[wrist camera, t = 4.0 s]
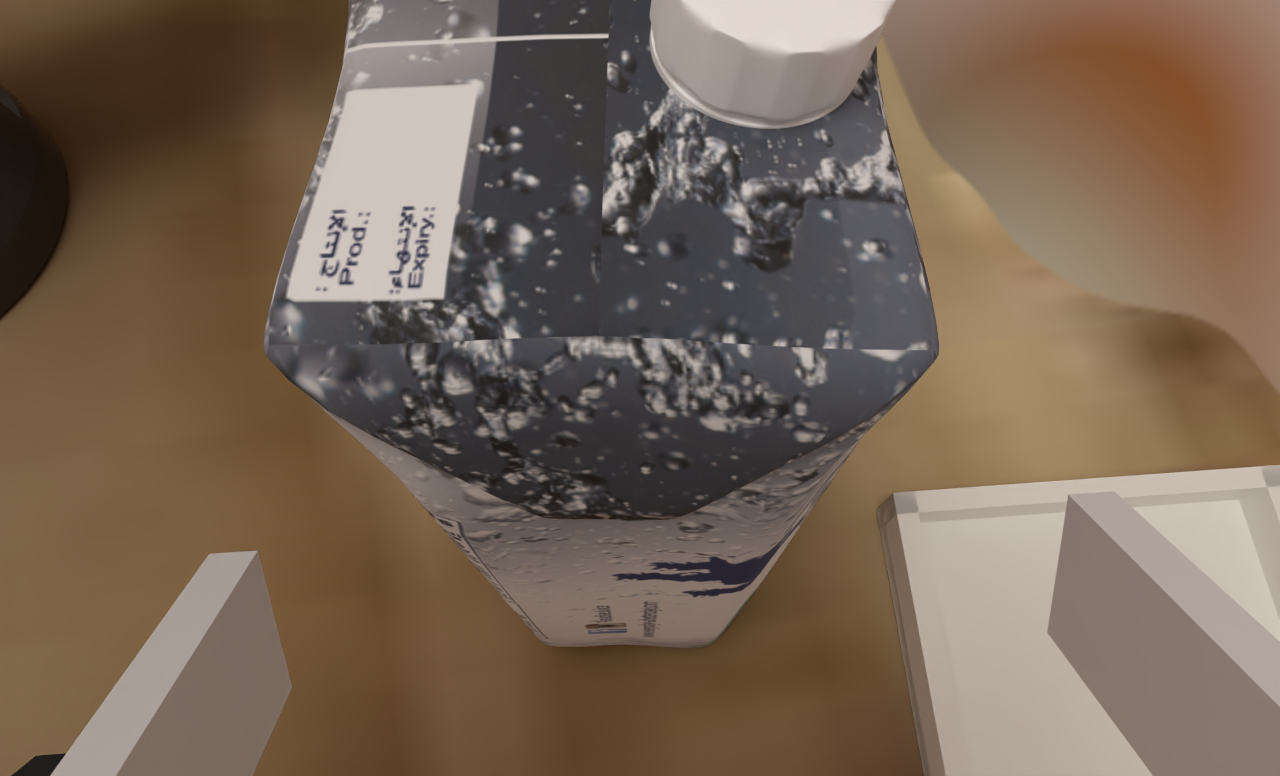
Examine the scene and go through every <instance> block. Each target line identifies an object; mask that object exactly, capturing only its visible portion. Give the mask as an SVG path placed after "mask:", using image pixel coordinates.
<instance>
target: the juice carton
mask: <svg viewBox="0 0 1280 776" xmlns="http://www.w3.org/2000/svg"><path fill="white" fill-rule="evenodd" d="M896 2H897V0H349V10H348V20H347V30H346V39H345V49H344V59H343V67H342V71H341V75H340V79H339V83H338V87H337V91H336V95H335V99H334V103H333V107H332V111H331V115H330V119H329V123H328V126H327V129H326V132H325V135H324V138H323V141H322V144H321V146H320V149H319V152H318V155H317V158H316V161H315V164H314V167H313V170H312V173H311V176H310V179H309V182H308V185H307V188H306V191H305V194H304V197H303V200H302V202H301V205H300V208H299V211H298V214H297V217H296V220H295V223H294V226H293V229H292V232H291V235H290V238H289V242H288V245H287V248H286V251H285V255H284V258H283V261H282V264H281V268H280V271H279V274H278V277H277V281H276V284H275V288H274V292H273V296H272V300H271V304H270V308H269V312H268V316H267V321H266V327H265V333H264V351H265V353H266V356H267V357H268V358H269V359H270V360H271V361H272V362H273V363H274V364H275V365H276V367H277V368H278V369H279V370H280V371H281V372H282V373H283V374H284V375H285V376H286V377H287V378H288V379H289V380H290V381H291V382H292V383H294V384H295V385H296V386H297V387H299V388H300V389H301V390H302V391H304V392H305V393H306V394H307V395H308V396H309V397H310V398H311V399H312V400H313V401H314V402H315V403H317V404H318V405H319V406H320V407H321V408H322V409H323V410H324V411H325V412H326V413H328V414H329V415H330V416H331V417H332V418H333V419H334V420H335V421H337V422H338V423H339V424H340V425H341V426H342V427H343V428H344V429H346V430H347V431H348V432H349V433H350V434H351V435H352V436H353V437H355V438H356V439H357V440H358V441H359V442H360V443H361V444H362V445H364V446H365V447H366V448H367V449H368V450H369V451H370V452H371V453H373V454H374V455H375V456H376V457H377V458H378V459H379V460H380V461H381V462H382V463H383V464H384V465H385V466H387V467H388V468H389V469H390V470H391V471H392V472H393V473H394V474H395V475H396V476H397V477H398V478H399V479H400V481H401V482H402V483H403V484H404V485H405V486H406V487H407V488H408V489H409V490H410V491H411V493H412V494H413V495H414V496H415V497H416V498H417V500H418V501H419V502H420V503H421V504H422V505H423V507H424V508H425V509H426V510H427V511H428V512H429V514H430V515H431V516H432V517H433V518H434V519H435V521H436V522H437V523H438V524H439V525H440V526H441V527H442V529H443V530H444V531H445V532H446V533H447V534H448V535H449V537H450V538H451V539H452V540H453V541H454V542H455V544H456V545H457V546H458V547H459V548H460V549H461V550H462V552H463V553H464V554H465V555H466V556H467V557H468V558H469V560H470V561H471V562H472V563H473V564H474V565H475V566H476V568H477V569H478V570H479V571H480V572H481V573H482V575H483V576H484V577H485V578H486V579H487V580H488V581H489V583H490V584H491V585H492V586H493V587H494V588H495V589H496V591H497V592H498V593H499V594H500V595H501V596H502V597H503V599H504V600H505V601H506V602H507V603H508V604H509V605H510V607H511V608H512V609H513V610H514V611H515V612H516V613H517V615H518V616H519V617H520V618H521V619H522V620H523V621H524V623H525V624H526V625H527V626H528V627H529V628H530V630H531V631H532V632H533V633H534V634H535V635H536V636H537V637H538V639H539V640H540V641H542V642H543V643H545V644H547V645H550V646H559V647H584V646H602V645H627V644H628V645H646V646H658V647H672V648H703V647H707V646H710V645H711V644H713V643H714V642H715V641H716V640H717V639H718V638H719V637H720V636H721V635H722V634H723V633H724V632H725V631H726V629H727V628H728V627H729V626H730V624H731V623H732V622H733V621H734V619H735V618H736V617H737V615H738V614H739V613H740V611H741V610H742V609H743V607H744V606H745V605H746V603H747V602H748V601H749V599H750V598H751V597H752V595H753V594H754V593H755V591H756V590H757V588H758V587H759V586H760V584H761V583H762V581H763V580H764V578H765V577H766V575H767V574H768V573H769V571H770V570H771V568H772V567H773V565H774V564H775V562H776V561H777V560H778V558H779V557H780V555H781V554H782V552H783V551H784V549H785V548H786V547H787V545H788V544H789V542H790V541H791V539H792V538H793V536H794V535H795V533H796V532H797V531H798V529H799V528H800V526H801V525H802V523H803V522H804V520H805V519H806V518H807V516H808V515H809V513H810V512H811V510H812V509H813V507H814V506H815V504H816V503H817V502H818V500H819V499H820V497H821V496H822V494H823V493H824V491H825V490H826V489H827V487H828V486H829V484H830V483H831V481H832V480H833V478H834V477H835V475H836V474H837V473H838V471H839V470H840V468H841V467H842V465H843V464H844V462H845V461H846V460H847V458H848V457H849V455H850V454H851V452H852V451H853V449H854V448H855V446H856V445H857V444H858V442H859V441H860V439H861V438H862V436H863V435H864V434H865V433H866V432H867V431H868V430H869V429H870V428H871V427H872V426H873V425H874V424H876V423H877V422H878V421H879V420H880V419H881V418H882V417H883V416H884V415H885V414H886V413H887V412H888V411H889V410H890V409H891V408H892V407H893V406H894V405H895V404H896V403H897V402H898V401H899V400H900V399H901V398H902V397H903V396H904V395H905V394H906V393H907V392H908V391H909V390H910V389H911V387H912V386H913V385H914V384H915V383H916V382H917V381H918V380H919V378H920V377H921V376H922V375H923V374H924V373H925V372H926V370H927V369H928V368H929V367H930V366H931V365H932V363H933V362H934V361H935V359H936V358H937V356H938V354H939V341H938V333H937V325H936V319H935V313H934V308H933V303H932V298H931V293H930V288H929V283H928V279H927V275H926V271H925V267H924V263H923V258H922V254H921V250H920V246H919V242H918V238H917V234H916V230H915V226H914V223H913V219H912V215H911V211H910V208H909V204H908V200H907V196H906V193H905V189H904V185H903V181H902V178H901V174H900V170H899V166H898V163H897V159H896V155H895V151H894V148H893V144H892V140H891V137H890V133H889V129H888V124H887V119H886V114H885V108H884V103H883V97H882V92H881V87H880V81H879V76H878V70H877V51H876V45H877V43H878V40H879V38H880V36H881V34H882V32H883V30H884V27H885V25H886V23H887V21H888V19H889V17H890V15H891V12H892V10H893V8H894V6H895V4H896Z"/></svg>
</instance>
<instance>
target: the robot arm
mask: <svg viewBox="0 0 1280 776" xmlns="http://www.w3.org/2000/svg"><path fill="white" fill-rule="evenodd" d="M67 194H68V188H67V176H66V170H65V166H64V162H63V159H62V156H61V153H60V151H59V149H58V147H57V145H56V143H55V142H54V140H53V138H52V137H51V136H50V134H49V133H48V131H47V130H46V129H45V128H44V127H43V126H42V125H41V124H40V123H39V122H38V121H37V119H36V118H35V117H34V116H33V115H32V114H31V113H30V112H29V111H28V110H27V109H26V108H25V107H24V106H23V105H22V104H21V103H20V102H19V101H18V100H17V99H16V98H15V97H14V96H13V95H12V94H11V93H10V92H9V91H7V90H6V89H5V88H4V87H2V86H1V85H0V315H1V314H2V313H3V312H4V311H5V310H6V309H8V308H9V307H10V306H11V305H12V304H13V303H14V302H15V301H16V300H17V299H18V298H19V296H20V295H21V294H22V293H23V292H24V291H25V290H26V289H27V287H28V286H29V285H30V284H31V282H32V281H33V280H34V279H35V277H36V276H37V274H38V273H39V272H40V270H41V269H42V267H43V266H44V264H45V262H46V261H47V259H48V257H49V255H50V253H51V251H52V249H53V247H54V245H55V243H56V241H57V238H58V236H59V233H60V230H61V227H62V224H63V220H64V216H65V212H66V205H67ZM1047 633H1048V634H1049V636H1050V637H1051V638H1052V640H1053V641H1054V642H1055V644H1056V645H1057V646H1058V648H1059V649H1060V650H1061V652H1062V653H1063V655H1064V656H1065V657H1066V659H1067V660H1068V661H1069V663H1070V664H1071V665H1072V667H1073V668H1074V669H1075V671H1076V672H1077V673H1078V675H1079V676H1080V678H1081V679H1082V680H1083V682H1084V683H1085V684H1086V686H1087V687H1088V688H1089V690H1090V691H1091V692H1092V694H1093V695H1094V697H1095V698H1096V699H1097V701H1098V702H1099V703H1100V705H1101V706H1102V707H1103V709H1104V710H1105V711H1106V713H1107V714H1108V715H1109V717H1110V718H1111V720H1112V721H1113V722H1114V724H1115V725H1116V726H1117V728H1118V729H1119V730H1120V732H1121V733H1122V734H1123V736H1124V737H1125V738H1126V740H1127V741H1128V743H1129V744H1130V745H1131V747H1132V748H1133V749H1134V751H1135V752H1136V753H1137V755H1138V756H1139V757H1140V759H1141V760H1142V762H1143V763H1144V764H1145V766H1146V767H1147V768H1148V770H1149V771H1150V772H1151V774H1152V775H1153V776H1280V641H1278V640H1277V639H1276V638H1275V637H1274V636H1273V635H1272V634H1271V633H1270V632H1269V631H1267V630H1266V629H1265V628H1264V627H1263V626H1262V625H1261V624H1260V623H1259V622H1258V621H1256V620H1255V619H1254V618H1253V617H1252V616H1251V615H1250V614H1249V613H1248V612H1247V611H1245V610H1244V609H1243V608H1242V607H1241V606H1240V605H1239V604H1238V603H1237V602H1236V601H1234V600H1233V599H1232V598H1231V597H1230V596H1229V595H1228V594H1227V593H1226V592H1225V591H1223V590H1222V589H1221V588H1220V587H1219V586H1218V585H1217V584H1216V583H1215V582H1214V581H1212V580H1211V579H1210V578H1209V577H1208V576H1207V575H1206V574H1205V573H1204V572H1203V571H1201V570H1200V569H1199V568H1198V567H1197V566H1196V565H1195V564H1194V563H1193V562H1192V561H1190V560H1189V559H1188V558H1187V557H1186V556H1185V555H1184V554H1183V553H1182V552H1181V551H1179V550H1178V549H1177V548H1176V547H1175V546H1174V545H1173V544H1172V543H1171V542H1170V541H1168V540H1167V539H1166V538H1165V537H1164V536H1163V535H1162V534H1161V533H1160V532H1159V531H1157V530H1156V529H1155V528H1154V527H1153V526H1152V525H1151V524H1150V523H1149V522H1148V521H1146V520H1145V519H1144V518H1143V517H1142V516H1141V515H1140V514H1139V513H1138V512H1137V511H1135V510H1134V509H1133V508H1132V507H1131V506H1130V505H1129V504H1128V503H1127V502H1126V501H1124V500H1123V499H1122V498H1121V497H1120V496H1119V495H1118V494H1117V493H1116V492H1115V491H1112V492H1098V493H1083V494H1069V495H1068V499H1067V506H1066V512H1065V519H1064V526H1063V532H1062V539H1061V545H1060V552H1059V558H1058V565H1057V572H1056V578H1055V585H1054V591H1053V598H1052V605H1051V611H1050V618H1049V624H1048V631H1047ZM291 689H292V685H291V681H290V677H289V673H288V669H287V665H286V661H285V657H284V653H283V649H282V645H281V641H280V637H279V633H278V629H277V625H276V621H275V617H274V613H273V609H272V605H271V601H270V597H269V593H268V589H267V585H266V581H265V577H264V573H263V570H262V566H261V562H260V558H259V554H258V551H244V552H230V553H215V554H209V555H208V556H207V558H206V559H205V561H204V562H203V563H202V565H201V566H200V568H199V569H198V570H197V572H196V573H195V575H194V576H193V577H192V579H191V580H190V582H189V583H188V584H187V586H186V587H185V588H184V590H183V591H182V593H181V594H180V595H179V597H178V598H177V600H176V601H175V602H174V604H173V605H172V607H171V608H170V609H169V611H168V612H167V614H166V615H165V616H164V618H163V619H162V621H161V622H160V623H159V625H158V626H157V628H156V629H155V630H154V632H153V633H152V635H151V636H150V637H149V639H148V640H147V641H146V643H145V644H144V646H143V647H142V648H141V650H140V651H139V653H138V654H137V655H136V657H135V658H134V660H133V661H132V662H131V664H130V665H129V667H128V668H127V669H126V671H125V672H124V674H123V675H122V676H121V678H120V679H119V681H118V682H117V683H116V685H115V686H114V688H113V689H112V690H111V692H110V693H109V695H108V696H107V697H106V699H105V700H104V701H103V703H102V704H101V706H100V707H99V708H98V710H97V711H96V713H95V714H94V715H93V717H92V718H91V720H90V721H89V722H88V724H87V725H86V727H85V728H84V729H83V731H82V732H81V734H80V735H79V736H78V738H77V739H76V741H75V742H74V743H73V745H72V746H71V748H70V749H69V750H68V752H67V753H66V754H54V755H41V756H35V757H34V758H33V759H32V760H30V761H29V762H28V763H27V764H25V765H24V766H23V767H22V768H20V769H19V770H18V771H17V772H15V773H14V774H13V775H12V776H253V774H254V772H255V769H256V767H257V765H258V763H259V760H260V758H261V756H262V754H263V752H264V749H265V747H266V745H267V743H268V740H269V738H270V736H271V734H272V731H273V729H274V727H275V725H276V723H277V720H278V718H279V716H280V714H281V711H282V709H283V707H284V705H285V703H286V700H287V698H288V696H289V694H290V691H291Z"/></svg>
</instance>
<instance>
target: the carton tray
mask: <svg viewBox="0 0 1280 776" xmlns="http://www.w3.org/2000/svg"><path fill="white" fill-rule="evenodd" d="M1112 491H1115V492H1116V493H1117V494H1118V495H1119V496H1120V497H1121V498H1122V499H1123V500H1124V501H1126V502H1127V503H1128V504H1129V505H1130V506H1131V507H1132V508H1133V509H1134V510H1135V511H1137V512H1138V513H1139V514H1140V515H1141V516H1142V517H1143V518H1144V519H1145V520H1146V521H1148V522H1149V523H1150V524H1151V525H1152V526H1153V527H1154V528H1155V529H1156V530H1157V531H1159V532H1160V533H1161V534H1162V535H1163V536H1164V537H1165V538H1166V539H1167V540H1168V541H1170V542H1171V543H1172V544H1173V545H1174V546H1175V547H1176V548H1177V549H1178V550H1179V551H1181V552H1182V553H1183V554H1184V555H1185V556H1186V557H1187V558H1188V559H1189V560H1190V561H1192V562H1193V563H1194V564H1195V565H1196V566H1197V567H1198V568H1199V569H1200V570H1201V571H1203V572H1204V573H1205V574H1206V575H1207V576H1208V577H1209V578H1210V579H1211V580H1212V581H1214V582H1215V583H1216V584H1217V585H1218V586H1219V587H1220V588H1221V589H1222V590H1223V591H1225V592H1226V593H1227V594H1228V595H1229V596H1230V597H1231V598H1232V599H1233V600H1234V601H1236V602H1237V603H1238V604H1239V605H1240V606H1241V607H1242V608H1243V609H1244V610H1245V611H1247V612H1248V613H1249V614H1250V615H1251V616H1252V617H1253V618H1254V619H1255V620H1256V621H1258V622H1259V623H1260V624H1261V625H1262V626H1263V627H1264V628H1265V629H1266V630H1267V631H1269V632H1270V633H1271V634H1272V635H1273V636H1274V637H1275V638H1276V639H1277V640H1278V641H1280V465H1273V466H1259V467H1246V468H1232V469H1218V470H1204V471H1190V472H1176V473H1162V474H1148V475H1134V476H1120V477H1106V478H1092V479H1078V480H1064V481H1050V482H1037V483H1023V484H1009V485H995V486H981V487H967V488H953V489H939V490H925V491H911V492H897V493H892V494H891V495H890V497H889V498H888V499H887V500H886V501H885V502H884V503H883V504H882V505H881V506H880V507H879V508H878V509H877V515H878V521H879V527H880V532H881V538H882V544H883V549H884V555H885V560H886V566H887V572H888V577H889V583H890V589H891V594H892V600H893V605H894V611H895V617H896V622H897V628H898V633H899V639H900V645H901V650H902V656H903V662H904V667H905V673H906V678H907V684H908V690H909V695H910V701H911V706H912V712H913V718H914V723H915V729H916V735H917V740H918V746H919V751H920V757H921V763H922V768H923V774H924V776H1153V775H1152V774H1151V772H1150V771H1149V770H1148V768H1147V767H1146V766H1145V764H1144V763H1143V762H1142V760H1141V759H1140V757H1139V756H1138V755H1137V753H1136V752H1135V751H1134V749H1133V748H1132V747H1131V745H1130V744H1129V743H1128V741H1127V740H1126V738H1125V737H1124V736H1123V734H1122V733H1121V732H1120V730H1119V729H1118V728H1117V726H1116V725H1115V724H1114V722H1113V721H1112V720H1111V718H1110V717H1109V715H1108V714H1107V713H1106V711H1105V710H1104V709H1103V707H1102V706H1101V705H1100V703H1099V702H1098V701H1097V699H1096V698H1095V697H1094V695H1093V694H1092V692H1091V691H1090V690H1089V688H1088V687H1087V686H1086V684H1085V683H1084V682H1083V680H1082V679H1081V678H1080V676H1079V675H1078V673H1077V672H1076V671H1075V669H1074V668H1073V667H1072V665H1071V664H1070V663H1069V661H1068V660H1067V659H1066V657H1065V656H1064V655H1063V653H1062V652H1061V650H1060V649H1059V648H1058V646H1057V645H1056V644H1055V642H1054V641H1053V640H1052V638H1051V637H1050V636H1049V634H1048V633H1047V631H1048V624H1049V618H1050V611H1051V605H1052V598H1053V591H1054V585H1055V578H1056V572H1057V565H1058V558H1059V552H1060V545H1061V539H1062V532H1063V526H1064V519H1065V512H1066V506H1067V499H1068V495H1069V494H1083V493H1098V492H1112Z"/></svg>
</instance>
